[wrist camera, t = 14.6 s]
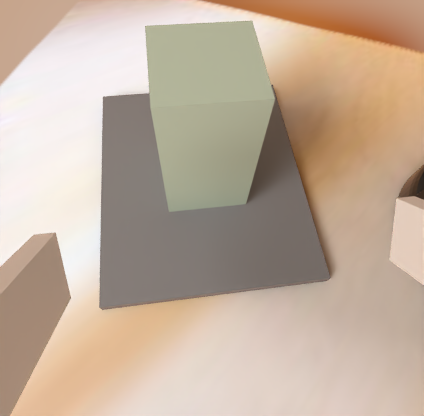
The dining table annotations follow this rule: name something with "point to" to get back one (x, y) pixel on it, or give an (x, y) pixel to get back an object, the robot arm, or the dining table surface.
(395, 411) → the dining table surface
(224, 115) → the sage block
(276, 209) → the mat
